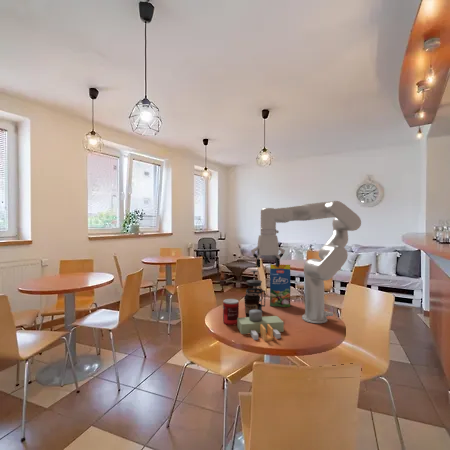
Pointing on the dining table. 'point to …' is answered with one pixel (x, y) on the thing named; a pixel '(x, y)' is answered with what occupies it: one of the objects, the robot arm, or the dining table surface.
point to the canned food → (230, 311)
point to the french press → (256, 289)
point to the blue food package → (280, 285)
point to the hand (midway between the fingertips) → (267, 266)
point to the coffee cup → (251, 302)
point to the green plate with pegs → (253, 324)
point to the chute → (264, 335)
